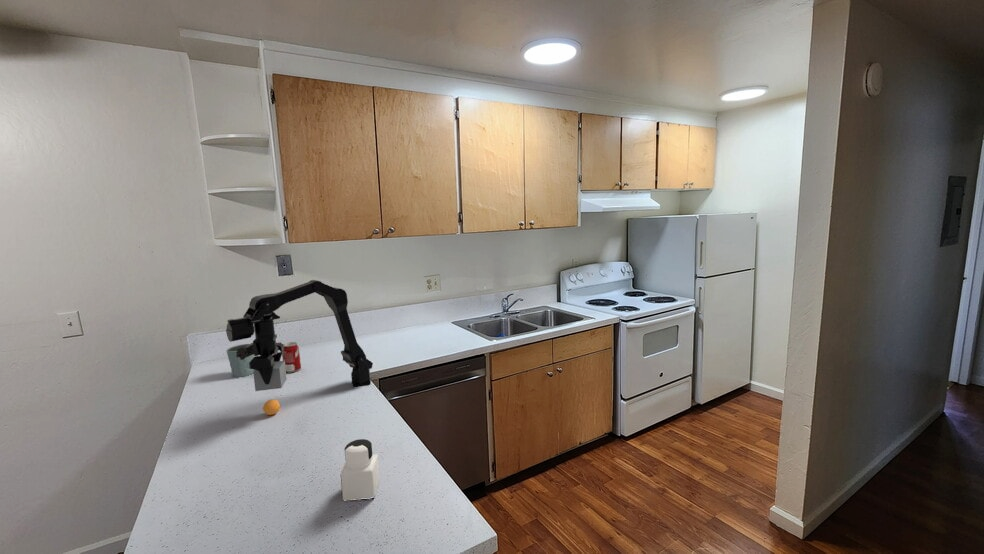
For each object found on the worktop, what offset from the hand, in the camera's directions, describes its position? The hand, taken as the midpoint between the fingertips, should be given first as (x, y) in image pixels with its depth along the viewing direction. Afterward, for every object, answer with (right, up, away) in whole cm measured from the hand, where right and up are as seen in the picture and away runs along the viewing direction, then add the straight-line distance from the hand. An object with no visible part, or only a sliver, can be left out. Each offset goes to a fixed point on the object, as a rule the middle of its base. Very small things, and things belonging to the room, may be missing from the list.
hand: (270, 379), depth 140 cm
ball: (0, -9, +1) cm, 10 cm away
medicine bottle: (+43, -17, -41) cm, 62 cm away
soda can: (-13, -7, +42) cm, 45 cm away
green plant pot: (-33, -8, +40) cm, 53 cm away
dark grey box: (0, -2, 0) cm, 2 cm away
